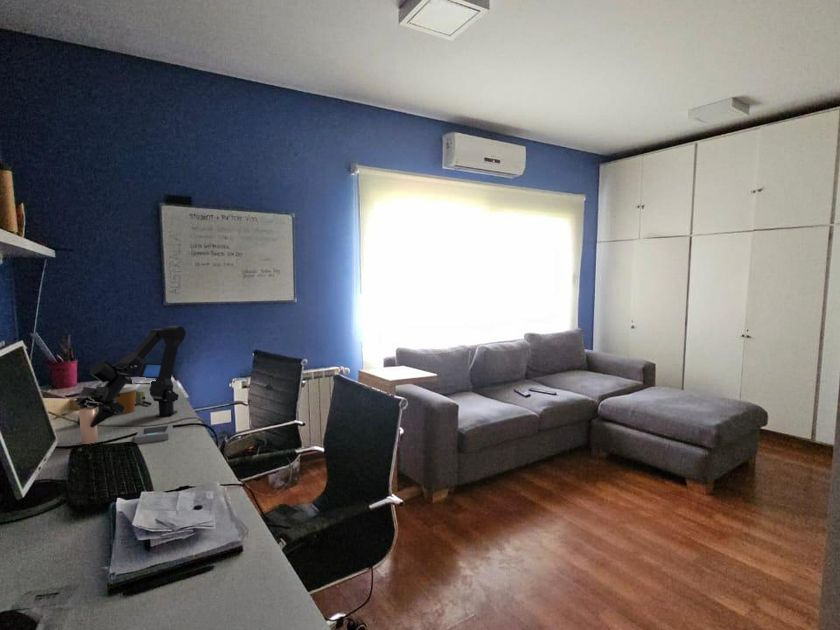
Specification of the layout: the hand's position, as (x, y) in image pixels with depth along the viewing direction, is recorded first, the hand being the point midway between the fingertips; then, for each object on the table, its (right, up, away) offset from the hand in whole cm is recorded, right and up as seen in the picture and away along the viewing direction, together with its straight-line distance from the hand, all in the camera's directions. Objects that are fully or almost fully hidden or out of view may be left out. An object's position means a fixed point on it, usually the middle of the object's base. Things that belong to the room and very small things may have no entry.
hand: (84, 426), depth 153 cm
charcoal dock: (+21, -6, +7) cm, 23 cm away
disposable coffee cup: (-10, -3, +37) cm, 38 cm away
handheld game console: (-37, +2, +93) cm, 100 cm away
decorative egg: (-15, -5, +22) cm, 27 cm away
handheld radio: (-16, -2, +51) cm, 54 cm away
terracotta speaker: (0, -6, +2) cm, 7 cm away
